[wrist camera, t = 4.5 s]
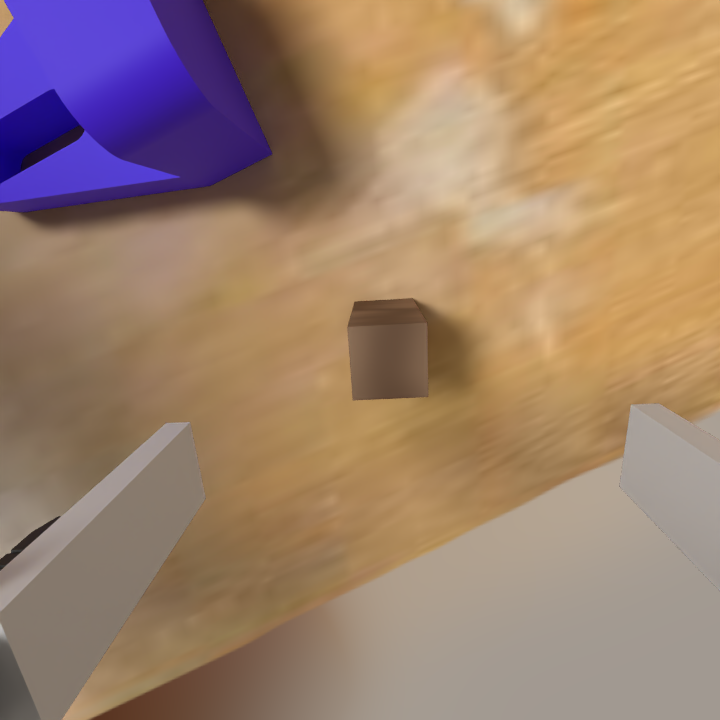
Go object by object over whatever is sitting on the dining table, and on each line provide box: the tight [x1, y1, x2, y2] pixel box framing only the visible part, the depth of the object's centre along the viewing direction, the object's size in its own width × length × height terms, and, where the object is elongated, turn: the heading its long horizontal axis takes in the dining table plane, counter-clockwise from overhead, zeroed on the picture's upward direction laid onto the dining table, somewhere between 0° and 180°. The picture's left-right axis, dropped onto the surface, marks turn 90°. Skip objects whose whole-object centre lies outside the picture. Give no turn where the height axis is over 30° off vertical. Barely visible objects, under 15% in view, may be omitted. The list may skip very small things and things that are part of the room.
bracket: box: [0, 0, 272, 212], centre depth 20 cm, size 18×11×12 cm, turn 114°
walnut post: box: [348, 298, 428, 400], centre depth 25 cm, size 4×4×8 cm
